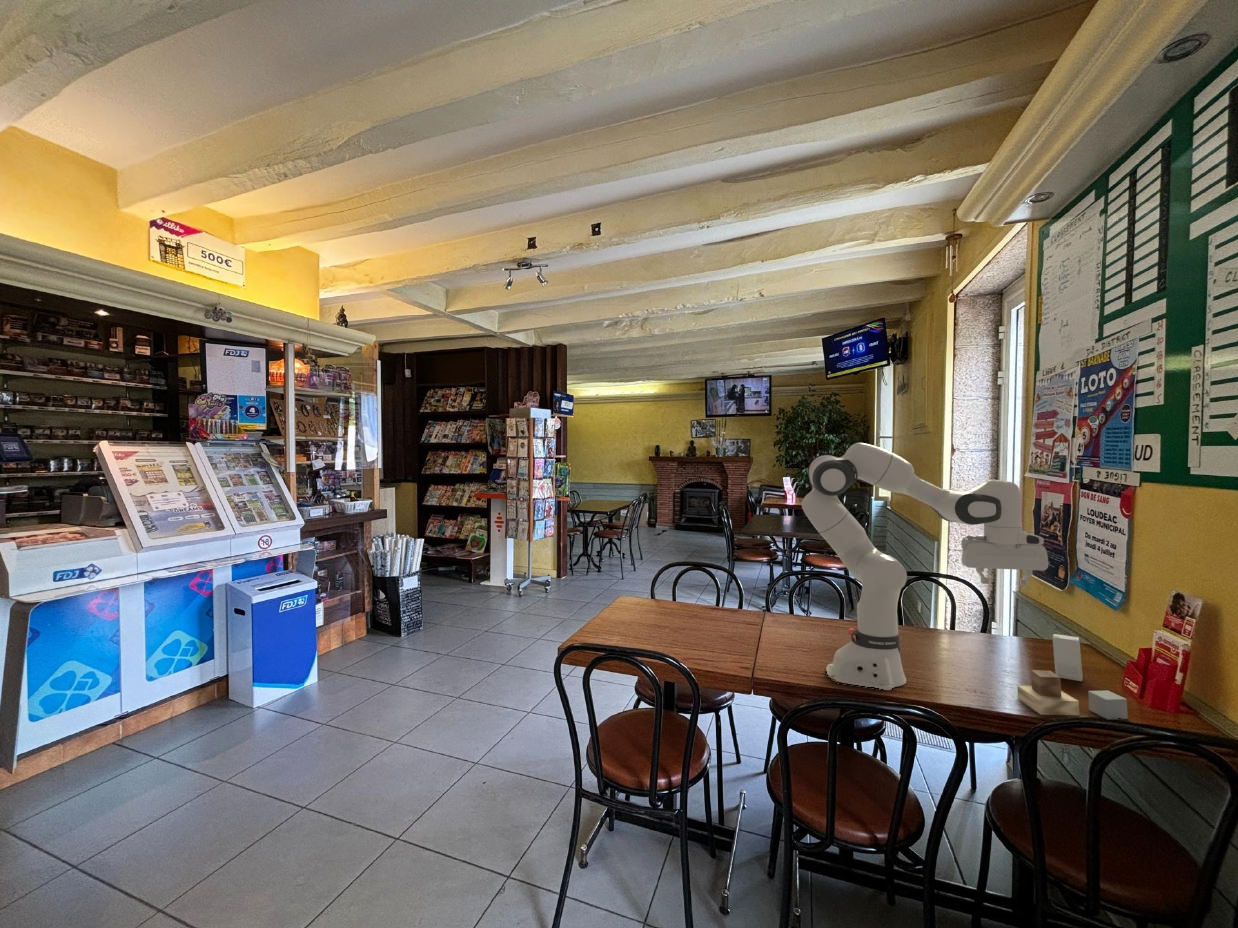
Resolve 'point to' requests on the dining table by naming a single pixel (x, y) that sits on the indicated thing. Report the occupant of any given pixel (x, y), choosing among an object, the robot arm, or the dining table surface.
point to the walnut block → (1046, 683)
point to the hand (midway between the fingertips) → (1004, 584)
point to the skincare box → (1067, 657)
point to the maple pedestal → (1048, 702)
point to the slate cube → (1108, 704)
